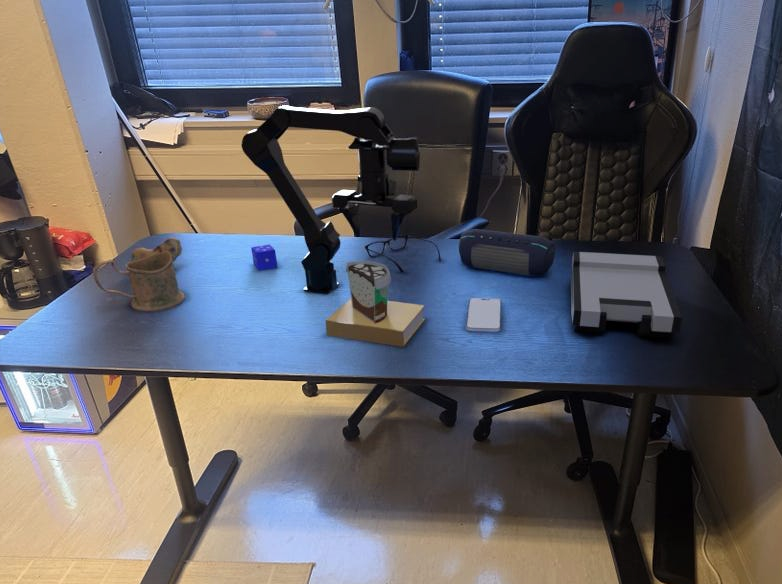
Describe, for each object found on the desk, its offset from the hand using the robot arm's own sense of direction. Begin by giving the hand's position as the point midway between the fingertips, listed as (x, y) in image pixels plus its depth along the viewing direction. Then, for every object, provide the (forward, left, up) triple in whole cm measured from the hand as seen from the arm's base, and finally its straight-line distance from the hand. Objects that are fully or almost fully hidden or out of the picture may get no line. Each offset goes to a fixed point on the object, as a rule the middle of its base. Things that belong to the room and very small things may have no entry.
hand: (376, 238), depth 146 cm
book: (+7, -19, -13) cm, 24 cm away
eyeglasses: (-2, +22, -13) cm, 26 cm away
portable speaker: (+26, +22, -13) cm, 37 cm away
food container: (+7, -19, -10) cm, 22 cm away
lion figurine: (-59, -6, -13) cm, 61 cm away
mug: (-48, -24, -13) cm, 55 cm away
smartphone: (+28, -7, -13) cm, 32 cm away
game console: (+56, +4, -13) cm, 58 cm away
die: (-35, +6, -13) cm, 38 cm away
